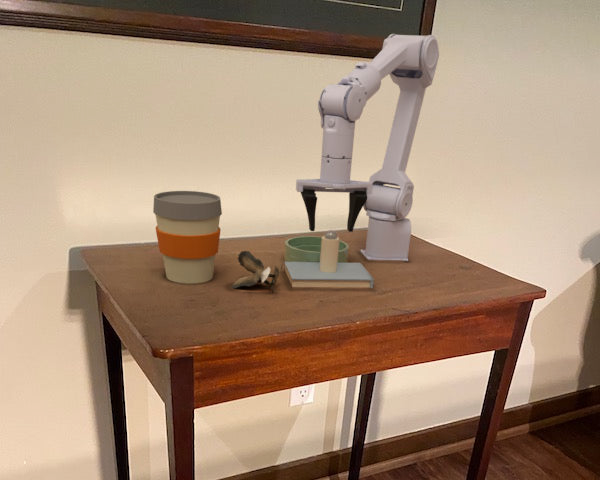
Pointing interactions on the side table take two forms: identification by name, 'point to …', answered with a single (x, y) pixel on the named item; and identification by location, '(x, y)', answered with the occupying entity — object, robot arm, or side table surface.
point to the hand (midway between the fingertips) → (330, 230)
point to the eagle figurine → (255, 271)
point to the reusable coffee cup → (188, 234)
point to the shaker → (329, 252)
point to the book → (328, 275)
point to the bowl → (310, 249)
